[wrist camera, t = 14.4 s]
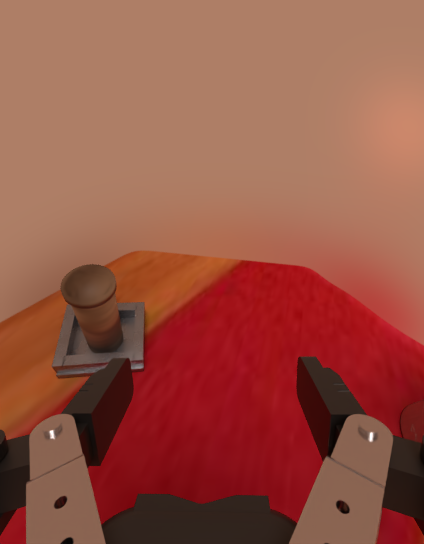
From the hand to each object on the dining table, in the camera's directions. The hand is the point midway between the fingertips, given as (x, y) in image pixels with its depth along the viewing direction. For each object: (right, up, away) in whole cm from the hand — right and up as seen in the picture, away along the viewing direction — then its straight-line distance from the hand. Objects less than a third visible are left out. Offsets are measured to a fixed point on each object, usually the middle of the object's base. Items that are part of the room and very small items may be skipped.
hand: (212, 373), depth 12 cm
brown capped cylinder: (-14, -4, +22) cm, 27 cm away
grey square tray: (-14, -5, +23) cm, 28 cm away
